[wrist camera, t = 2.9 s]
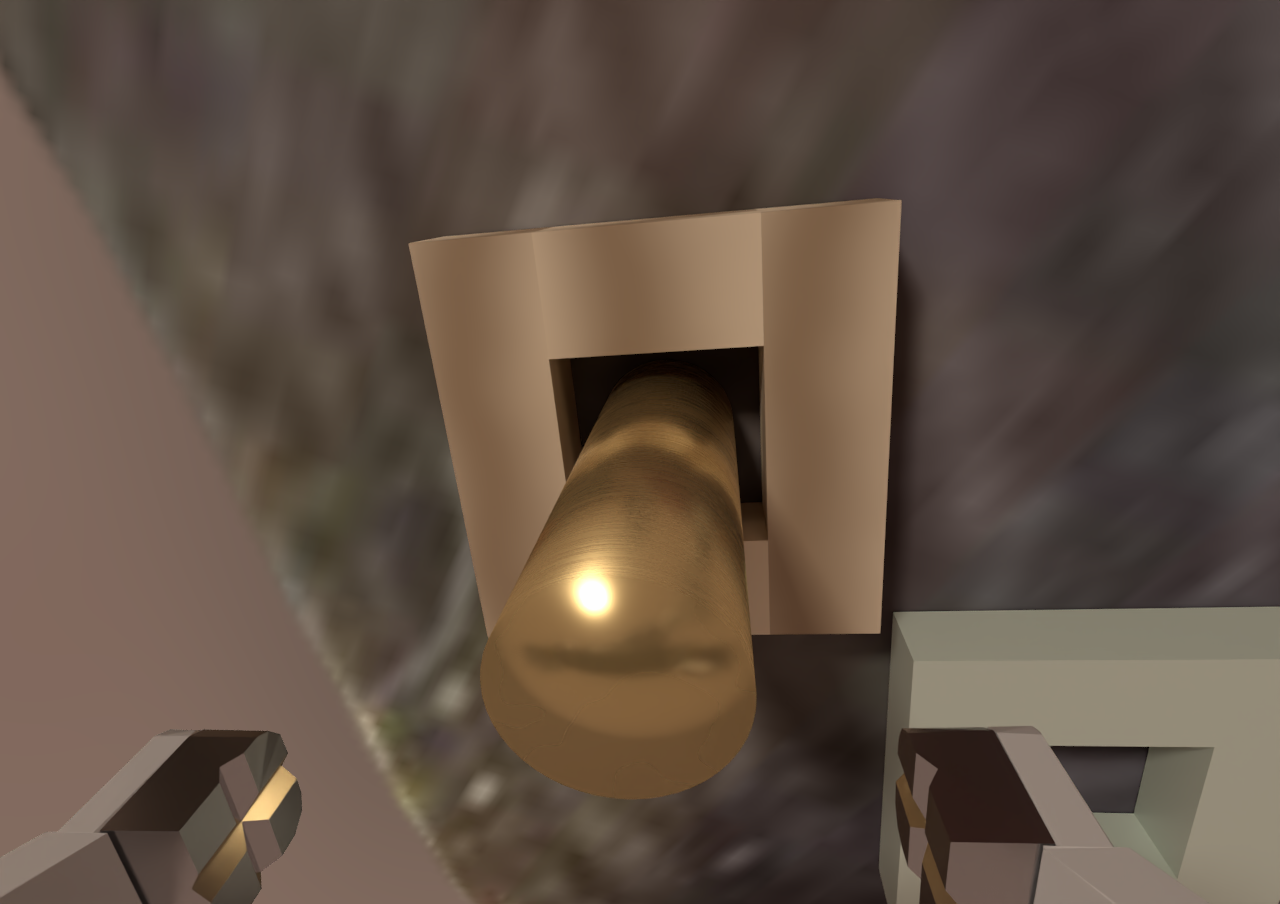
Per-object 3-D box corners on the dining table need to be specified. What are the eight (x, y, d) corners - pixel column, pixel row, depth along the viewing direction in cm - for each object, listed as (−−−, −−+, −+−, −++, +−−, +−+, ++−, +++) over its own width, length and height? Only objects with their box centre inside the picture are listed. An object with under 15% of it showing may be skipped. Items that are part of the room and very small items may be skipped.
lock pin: (731, 355, 20) (752, 572, 9) (735, 479, 21) (759, 801, 10) (597, 363, 20) (457, 579, 9) (610, 484, 22) (503, 796, 11)
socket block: (1295, 606, 21) (1367, 658, 19) (1211, 878, 25) (1261, 948, 23) (893, 611, 22) (913, 661, 20) (878, 867, 27) (894, 932, 24)
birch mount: (876, 198, 18) (901, 200, 16) (862, 586, 22) (880, 633, 20) (444, 236, 19) (408, 243, 17) (510, 593, 24) (487, 637, 21)
